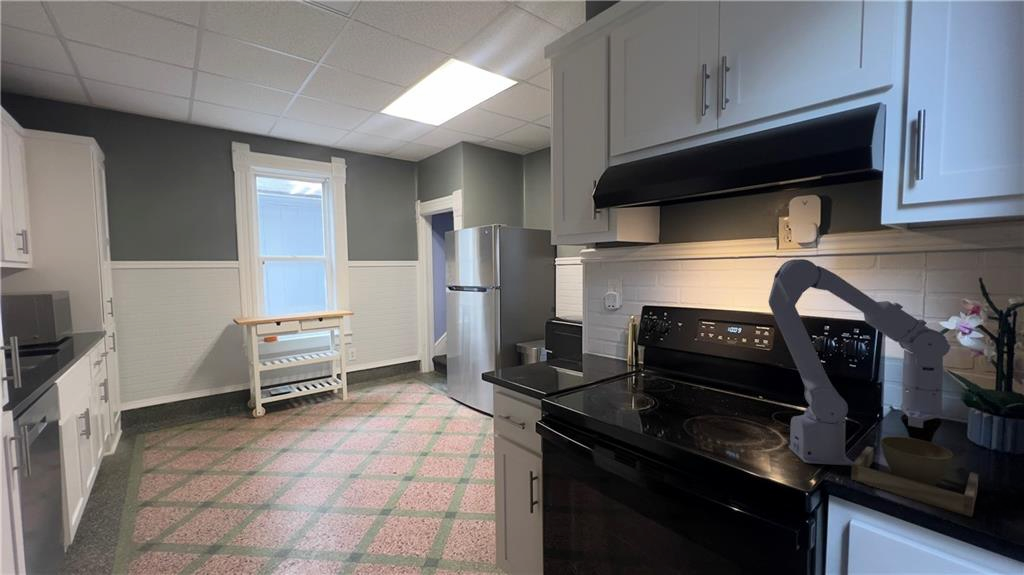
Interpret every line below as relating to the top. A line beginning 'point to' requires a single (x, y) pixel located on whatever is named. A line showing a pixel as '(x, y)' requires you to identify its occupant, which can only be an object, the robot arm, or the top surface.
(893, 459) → the yellow bowl
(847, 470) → the top surface
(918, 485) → the frame
